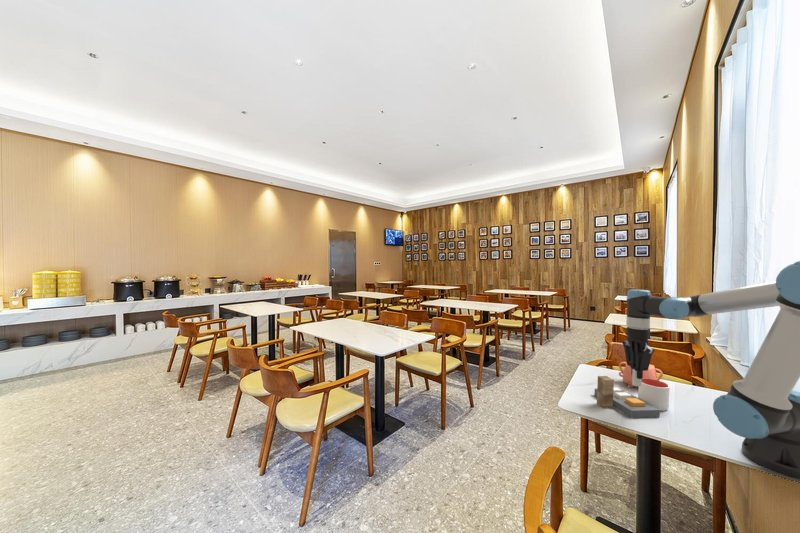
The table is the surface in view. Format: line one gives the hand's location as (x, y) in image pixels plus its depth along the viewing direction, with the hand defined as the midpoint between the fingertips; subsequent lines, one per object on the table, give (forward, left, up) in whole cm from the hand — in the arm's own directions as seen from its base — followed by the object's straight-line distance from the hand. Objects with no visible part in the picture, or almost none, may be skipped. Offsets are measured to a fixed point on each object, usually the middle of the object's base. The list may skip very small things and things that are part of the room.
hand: (636, 385), depth 124 cm
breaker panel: (+5, 0, -11) cm, 12 cm away
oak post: (+5, +9, -11) cm, 15 cm away
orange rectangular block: (0, 0, -10) cm, 10 cm away
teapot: (+23, -23, -11) cm, 35 cm away
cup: (+4, -12, -11) cm, 17 cm away
